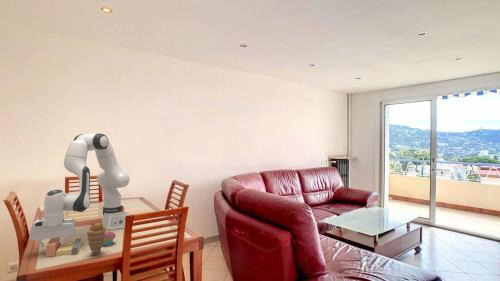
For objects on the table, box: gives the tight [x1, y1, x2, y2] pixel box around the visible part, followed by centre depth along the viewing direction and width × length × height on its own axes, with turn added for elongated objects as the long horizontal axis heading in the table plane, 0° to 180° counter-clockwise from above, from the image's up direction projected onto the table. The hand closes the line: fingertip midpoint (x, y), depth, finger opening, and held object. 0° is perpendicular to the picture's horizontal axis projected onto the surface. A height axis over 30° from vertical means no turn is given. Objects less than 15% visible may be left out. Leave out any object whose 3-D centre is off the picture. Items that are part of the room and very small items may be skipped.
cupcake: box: [103, 224, 117, 247], centre depth 158 cm, size 9×8×12 cm
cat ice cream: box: [86, 219, 106, 256], centre depth 144 cm, size 9×8×18 cm
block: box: [45, 237, 61, 258], centre depth 144 cm, size 4×12×6 cm, turn 26°
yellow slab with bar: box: [55, 237, 82, 257], centre depth 148 cm, size 10×15×4 cm
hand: (53, 245), depth 144 cm, fingers open, 8 cm apart
